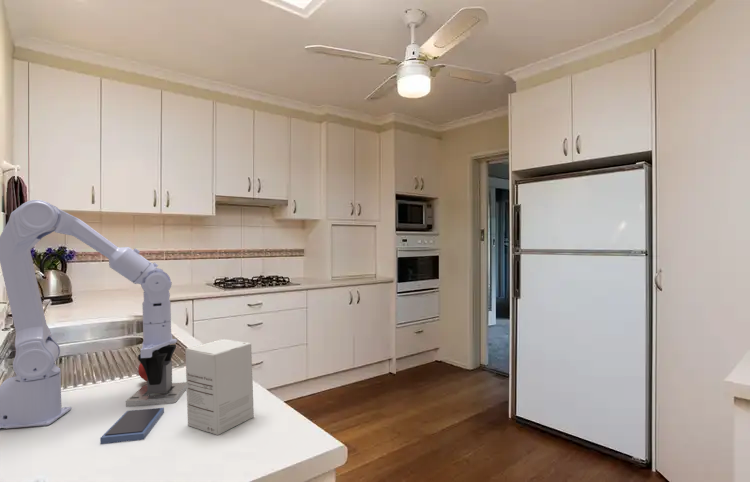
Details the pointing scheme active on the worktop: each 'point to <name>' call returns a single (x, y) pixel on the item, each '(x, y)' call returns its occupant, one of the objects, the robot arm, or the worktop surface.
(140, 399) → the plate
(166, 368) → the block
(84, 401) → the worktop surface
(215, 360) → the supplement box
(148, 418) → the phone
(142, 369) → the onion
